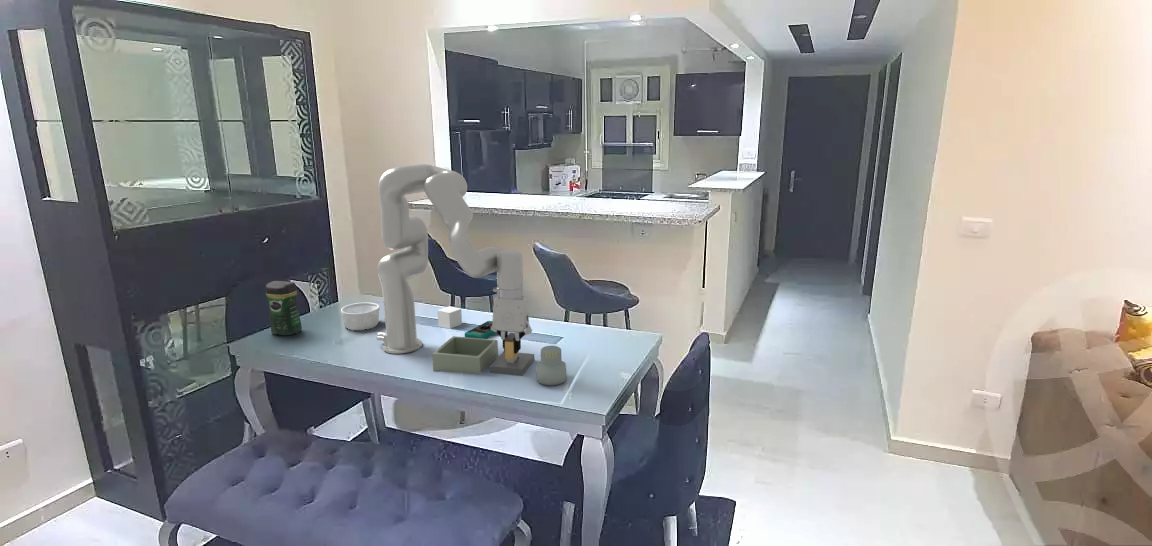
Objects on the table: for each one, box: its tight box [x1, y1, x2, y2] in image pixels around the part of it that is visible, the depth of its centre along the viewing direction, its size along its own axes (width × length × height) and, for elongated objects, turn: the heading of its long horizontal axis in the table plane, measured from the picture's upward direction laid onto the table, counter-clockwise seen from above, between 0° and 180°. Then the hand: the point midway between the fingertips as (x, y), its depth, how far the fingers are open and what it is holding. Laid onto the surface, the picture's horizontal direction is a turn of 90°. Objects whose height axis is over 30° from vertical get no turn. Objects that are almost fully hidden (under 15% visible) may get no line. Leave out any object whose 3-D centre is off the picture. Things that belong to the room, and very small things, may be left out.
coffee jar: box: [265, 280, 303, 336], centre depth 212 cm, size 10×8×19 cm
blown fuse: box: [505, 332, 520, 363], centre depth 183 cm, size 2×5×9 cm, turn 167°
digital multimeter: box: [464, 320, 497, 339], centre depth 213 cm, size 7×15×3 cm, turn 154°
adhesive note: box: [437, 305, 463, 329], centre depth 221 cm, size 6×6×6 cm
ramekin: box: [340, 301, 380, 331], centre depth 220 cm, size 13×13×7 cm
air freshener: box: [536, 345, 568, 387], centre depth 173 cm, size 11×8×10 cm
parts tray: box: [431, 335, 499, 375], centre depth 187 cm, size 15×15×6 cm
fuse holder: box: [489, 351, 536, 376], centre depth 184 cm, size 10×12×2 cm
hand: (511, 350), depth 183 cm, fingers closed on blown fuse, 2 cm apart
